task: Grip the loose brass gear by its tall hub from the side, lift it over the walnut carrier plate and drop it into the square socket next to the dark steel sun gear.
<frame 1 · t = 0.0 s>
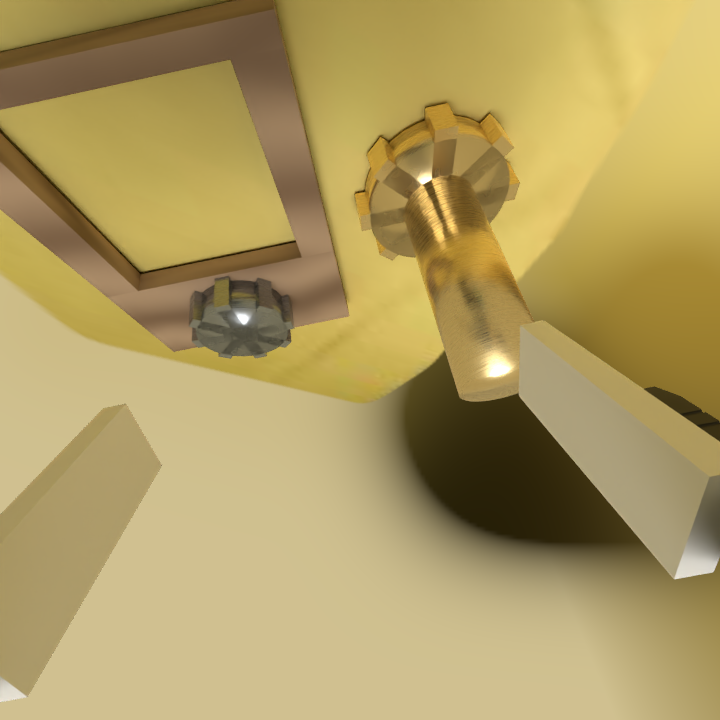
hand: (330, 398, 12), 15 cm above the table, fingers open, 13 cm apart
planet gear: (430, 186, 24), on the table
sun gear: (242, 292, 30), resting on carrier plate
carrier plate: (204, 233, 24), on the table
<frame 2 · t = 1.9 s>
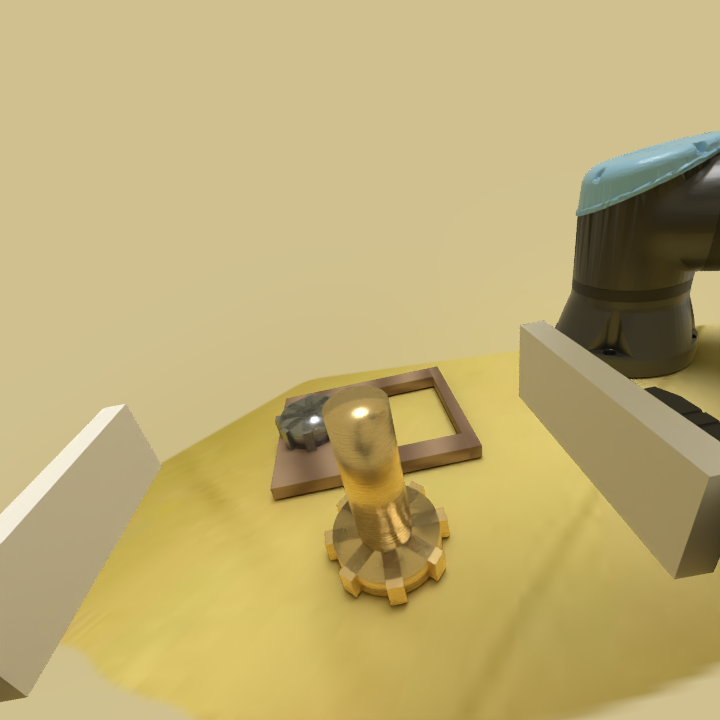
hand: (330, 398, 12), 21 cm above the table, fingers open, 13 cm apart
planet gear: (388, 541, 30), on the table
sun gear: (316, 439, 44), resting on carrier plate
carrier plate: (369, 427, 43), on the table
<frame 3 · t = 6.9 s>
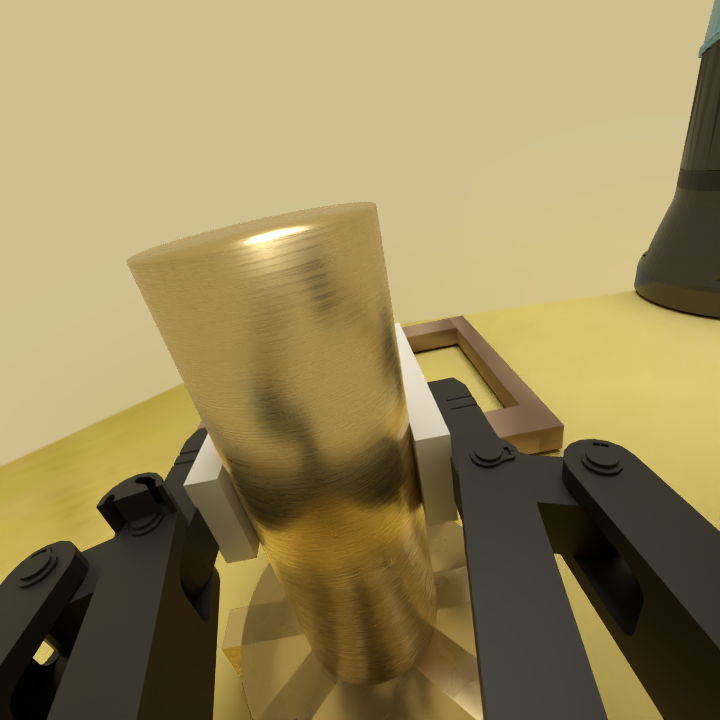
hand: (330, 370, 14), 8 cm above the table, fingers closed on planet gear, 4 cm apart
planet gear: (379, 634, 13), on the table, touching gripper
carrier plate: (355, 401, 26), on the table
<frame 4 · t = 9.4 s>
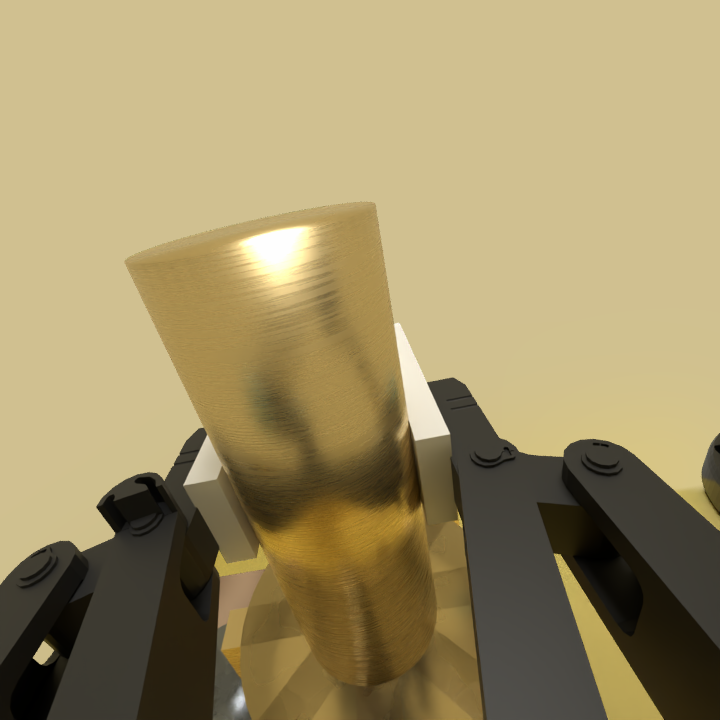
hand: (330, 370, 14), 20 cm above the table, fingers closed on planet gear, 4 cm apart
planet gear: (379, 634, 13), point 12 cm above the table, touching gripper
sun gear: (252, 719, 21), resting on carrier plate
carrier plate: (363, 702, 21), on the table
when the fingers open (10 cm above the table, at t = 12.2 s): planet gear drops 2 cm, resting in carrier plate.
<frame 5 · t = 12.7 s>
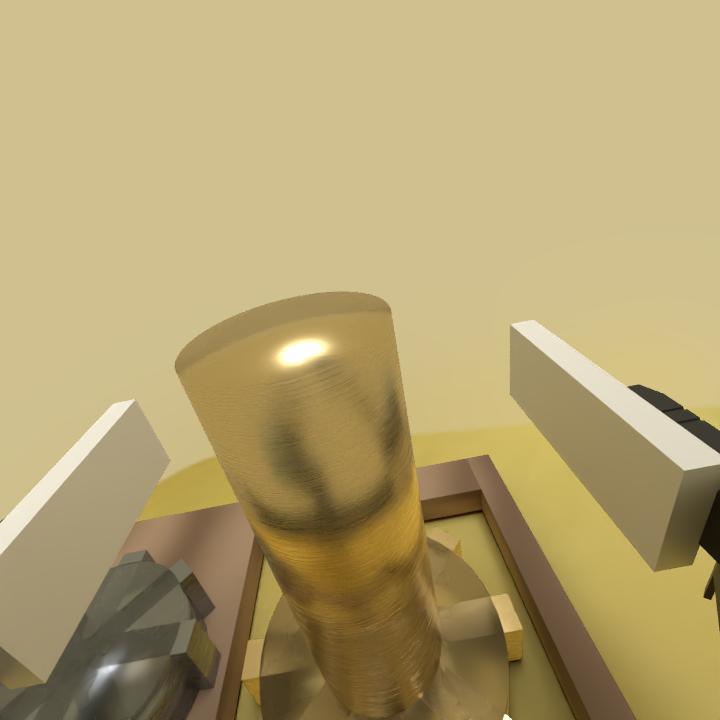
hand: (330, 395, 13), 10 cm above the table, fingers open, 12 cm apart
planet gear: (387, 662, 14), resting in carrier plate
sun gear: (136, 706, 14), resting on carrier plate
carrier plate: (297, 677, 14), on the table
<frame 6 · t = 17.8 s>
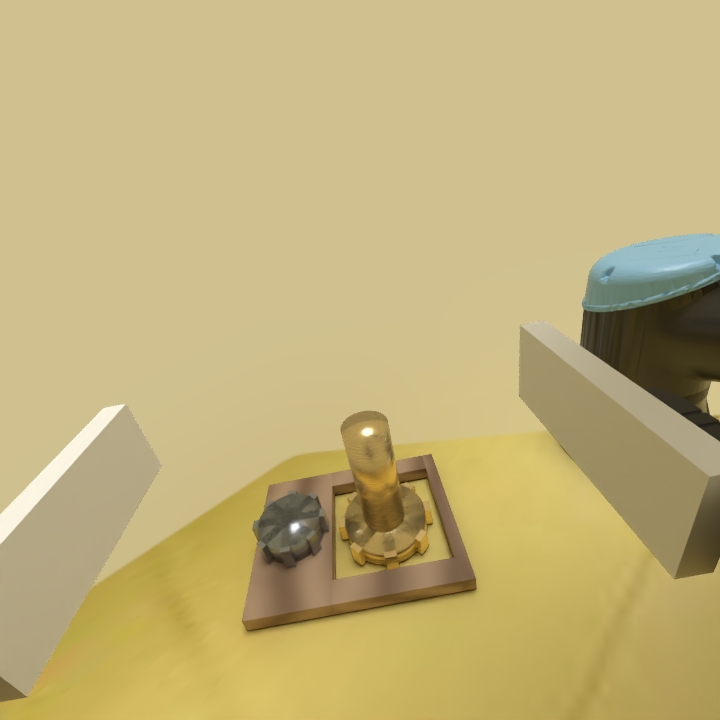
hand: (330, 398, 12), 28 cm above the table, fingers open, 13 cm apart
planet gear: (387, 526, 40), resting in carrier plate
sun gear: (298, 543, 40), resting on carrier plate
carrier plate: (355, 532, 40), on the table
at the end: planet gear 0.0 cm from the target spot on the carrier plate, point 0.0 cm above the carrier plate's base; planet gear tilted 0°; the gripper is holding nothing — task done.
